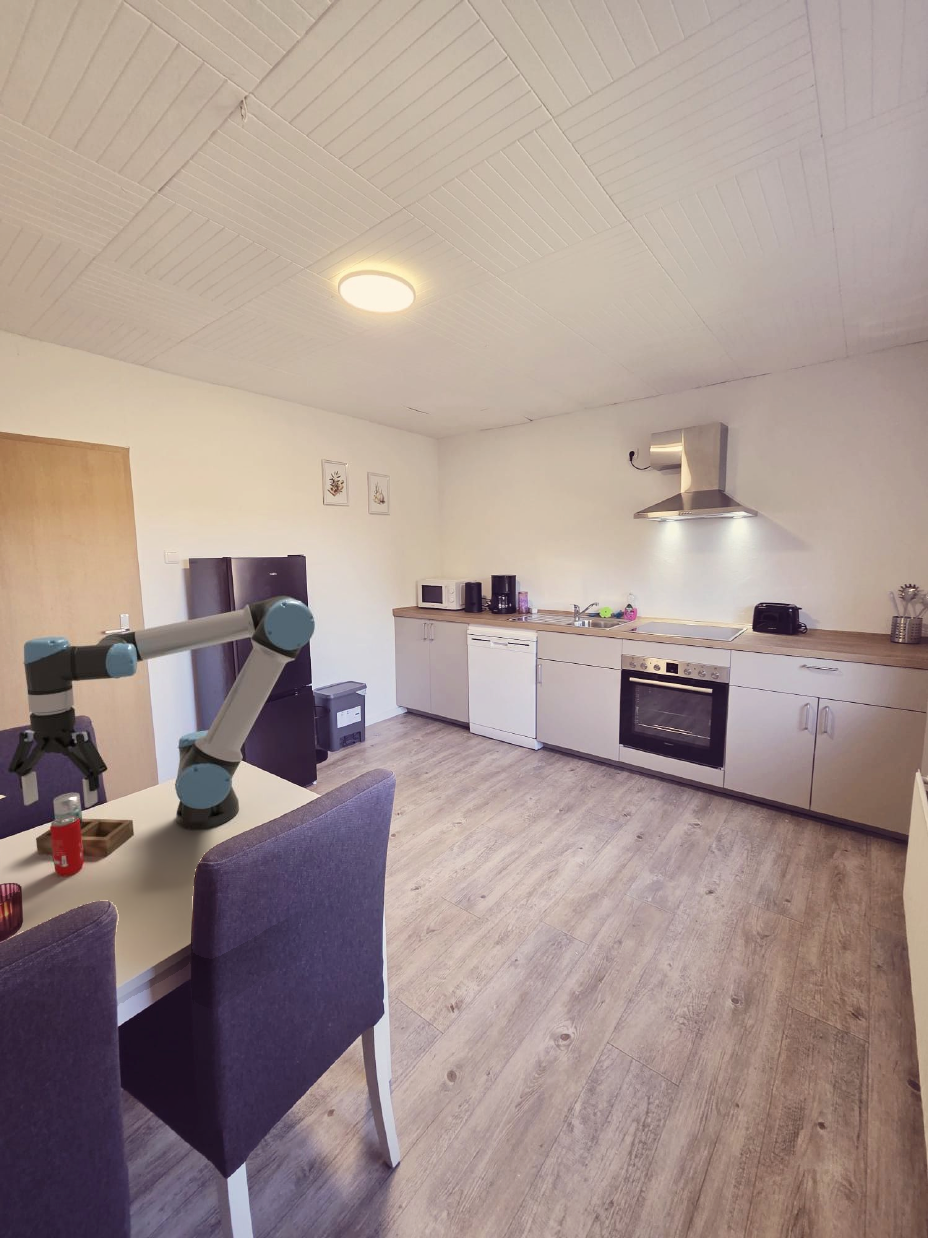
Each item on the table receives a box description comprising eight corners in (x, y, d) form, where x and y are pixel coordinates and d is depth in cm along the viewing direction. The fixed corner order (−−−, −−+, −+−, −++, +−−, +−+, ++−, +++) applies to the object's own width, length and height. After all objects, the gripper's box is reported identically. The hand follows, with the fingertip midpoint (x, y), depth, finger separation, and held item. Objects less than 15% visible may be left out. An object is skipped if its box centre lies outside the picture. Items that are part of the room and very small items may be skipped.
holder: (133, 835, 128) (132, 820, 128) (107, 856, 120) (106, 840, 119) (68, 833, 129) (67, 818, 129) (37, 854, 120) (35, 838, 120)
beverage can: (53, 870, 114) (48, 820, 113) (82, 860, 118) (77, 811, 116) (57, 881, 111) (51, 829, 109) (86, 870, 114) (81, 820, 113)
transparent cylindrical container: (89, 838, 127) (85, 792, 125) (73, 850, 122) (68, 802, 120) (69, 837, 127) (64, 792, 125) (52, 849, 122) (47, 802, 120)
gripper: (121, 706, 112) (128, 797, 115) (12, 703, 113) (22, 793, 116) (95, 717, 105) (103, 814, 108) (-21, 713, 106) (-10, 810, 109)
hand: (61, 803), depth 112 cm, fingers open, 13 cm apart
